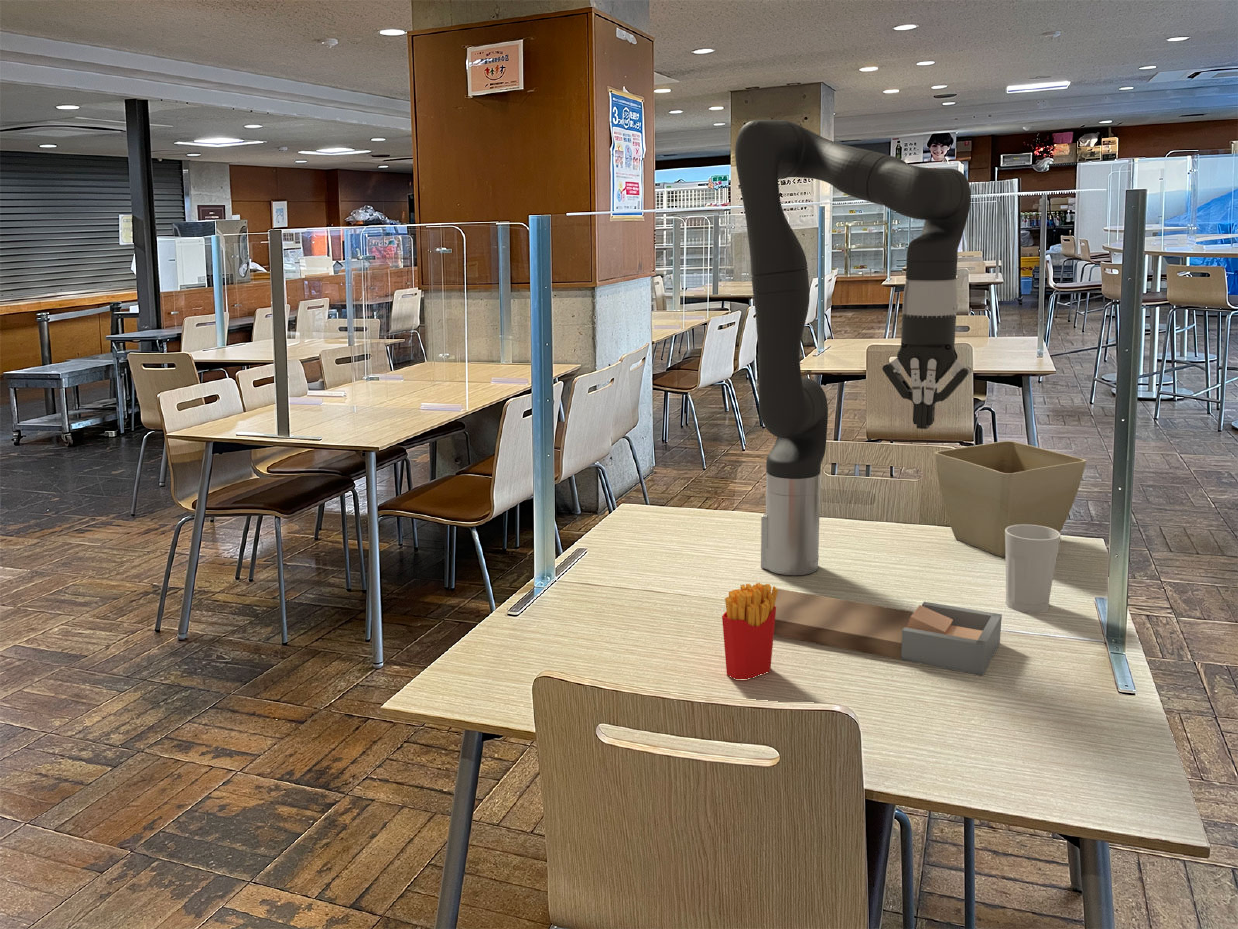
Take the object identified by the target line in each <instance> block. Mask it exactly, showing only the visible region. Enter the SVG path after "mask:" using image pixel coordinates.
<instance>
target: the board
mask: <svg viewBox="0 0 1238 929" xmlns="http://www.w3.org/2000/svg"><path fill="white" fill-rule="evenodd" d="M777 589H778V592H777V597H776V601H775V605H774V606H776V615H775V626H774V636H777V637H783V638H789V639H794V640H799V641H803V642H808V643H814V644H819V645H825V646H829V647H835V648H839V649H843V650H844V649H845V650H848V651H850V650H851V651H855V652H859V653H865V654H870V655H875V656H878V657H879V656H881V657H885V658H889V657H890V658H891V659H895V660H901V646H902V630H903V629H904V627H907V625H908V622H909V619H910V617H911V615H912V614H913V613H914V612H915V611H910V610H905V609H898V608H893V607H887V606H881V605H876V604H869V603H864V602H860V601H859V602H857V601H852V600H847V599H841V598H835V597H828V596H823V595H817V594H811V593H805V592H798V591H796V590H795V591H793V590H788V589H784V588H783V589H782V588H777ZM901 661H902V660H901Z"/></svg>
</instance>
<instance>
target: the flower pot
mask: <svg viewBox="0 0 1238 929" xmlns="http://www.w3.org/2000/svg"><path fill="white" fill-rule="evenodd" d="M934 462H935V468H936V475H937V481H938V485H939V490H940V494H941V498H942V503H943V507H944V509H945V513H946V517H947V519H948V522H949V525H950V529H951V531H952V534H953V536H954V538H955V539H956V540H959V541H960V542H963V543H965V544H969V545H970V546H973V547H976V548H978V549H980V550H982V551H984V552H987V553H989V554H993V555H995V556H997V557H1006V549H1005V529H1006V528H1007V527H1009V526H1013V525H1038V526H1044V527H1048V528H1052V529H1054V530H1057V531H1058V532H1059V533H1060V534H1061V532H1062V529H1063V527H1064V525H1065V524H1066V521H1067V518H1068V517H1069V515H1070V513H1071V510H1072V507H1073V504H1074V502H1075V500H1076V496H1077V494H1078V492H1079V488H1080V486H1081V485H1080V484H1081V483H1082V478H1083V476H1084V472H1085V468H1086V465H1087V460H1086V459H1085V458H1080V457H1077V456H1073V455H1069V454H1065V453H1061V452H1057V451H1054V450H1050V449H1045V448H1042V447H1037V446H1035V445H1030V444H1026V443H1023V442H1019V441H1015V440H1003V441H1002V440H1001V441H996V442H990V443H984V444H977V445H969V446H963V447H956V448H951V449H944V450H943V449H942V450H936V451H934Z"/></svg>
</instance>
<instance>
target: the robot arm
mask: <svg viewBox="0 0 1238 929" xmlns="http://www.w3.org/2000/svg"><path fill="white" fill-rule="evenodd" d="M734 146H735V148H734V149H735V150H734V157H735V165H736V167H735V168H736V173H737V179H738V183H739V189H740V193H741V199H742V203H743V209H744V215H745V224H746V231H747V239H748V247H749V258H750V274H751V275H750V276H751V284H752V285H751V287H752V296H753V304H754V312H755V322H756V323H755V325H756V337H757V345H758V346H757V347H758V360H759V361H758V408H759V409H758V410H759V416H760V419H761V422H762V424H763V426H764V427H765V429H766V430H767V431H768V433H770V434H771V435H773V436H774V437H776V440H775V443H774V446H773V447H772V449H771V450H770V452H769V453H768V454H767V457H766V462H765V465H766V466H765V467H766V468H765V472H766V475H765V476H766V478H765V480H766V481H765V513H764V514H762V515H761V519H760V520H761V522H760V524H761V525H760V528H761V529H760V530H761V531H760V540H761V541H760V568H761V569H766V570H767V571H769V572H772V573H774V574H779V575H785V576H803V575H809V574H813V573H814V572H817V570H818V568H819V560H820V558H819V549H820V548H819V546H820V511H821V510H820V509H821V473H822V472H821V470H822V468H821V467H822V462H823V459H824V457H825V454H826V448H827V438H828V437H827V436H828V421H829V404H828V399H827V398H828V397H827V396H826V393H825V390H824V389H823V387H822V386H821V384H819V383H818V382H817V381H815V380H813V379H811V378H809V377H802V368H801V360H800V358H801V356H800V353H801V343H802V339H803V334H804V329H805V326H806V321H807V317H808V314H809V308H810V296H811V295H810V279H809V270H808V269H809V267H808V261H807V258H806V257H807V256H806V254H805V251H804V249H803V247H802V245H801V242H800V240H799V239H798V237H797V235H796V233H795V232H794V231H793V229H792V227H791V225H790V223H789V222H788V219H787V217H786V215H785V213H784V210H783V206H782V201H781V196H780V187H779V180H786V179H787V178H788V179H789V178H800V179H801V178H803V179H813V180H818V181H822V182H825V183H827V184H829V185H831V186H832V187H833V188H835V189H837V190H838V191H839V192H841V193H844V194H845V195H847V196H851V197H853V198H856V199H858V200H863V201H866V202H868V203H872V204H876V205H880V206H884V207H886V208H887V209H889V210H891V211H894V212H895V213H897V214H900V215H901V216H904V217H907V218H912V219H915V220H921V221H924V223H923V228H922V231H921V234H920V235H919V236H918V237H917V238H916V237H915V238H914V239H912V240H911V241H910V242H909V244H908V247H907V249H906V250H907V251H906V263H905V264H906V265H905V284H904V288H903V295H902V296H903V297H902V315H901V316H902V317H901V333H900V334H901V335H900V336H901V337H900V341H901V342H900V348H899V350H898V351H897V354H896V358H895V359H893V360H892V361H890V362H889V363H886V364H884V365H882V369H881V370H882V371H883V373H884V374H885V376H886V377H887V378H888V380H889V381H890V383H891V384H892V385H893V386H894V388H895V390H896V391H897V392H898V394H899V395H900V397H901V398H902V399H905V400H907V401H911V403H912V404H913V406H912V407H913V408H912V409H913V410H912V423H913V425H916V429H919V430H920V429H921V430H928V429H929V428H930V426H932V425H933V424H934V422H935V415H936V403H938V402H944V401H945V400H947V399H948V398H949V397H950V396H951V395H952V394H953V393H954V392H955V390H956V389H957V388H959V386H961V384H962V383H963V382H964V381H965V379H966V378H967V377H969V375H970V374H971V373H972V369H971V368H970V366H965V365H964V364H963V363H962V362H960V360H958V354H957V351H956V349H955V341H956V327H957V325H956V324H957V310H958V307H959V306H958V305H959V304H958V289H957V274H958V273H957V271H958V270H957V269H958V256H959V255H958V250H959V247H960V244H961V241H962V238H963V235H964V232H965V229H966V228H965V227H966V224H967V221H968V217H969V213H970V209H971V203H972V194H971V193H972V191H971V186H970V183H969V181H968V178H967V177H966V175H965V174H964V173H963V172H961V171H960V170H958V169H955V168H949V167H947V168H946V167H945V168H944V167H943V168H942V167H940V168H936V167H933V168H932V167H924V166H917V165H913V164H908V163H907V162H906V161H905V160H904V159H902V158H899V157H896V156H893V155H889V154H886V153H881V152H877V151H873V150H869V149H865V148H860V147H855V146H851V145H848V144H847V145H846V144H844V143H838V142H837V141H833V140H831V139H828V138H825V137H823V136H821V135H820V134H817V133H815V132H813V131H812V130H809V129H808V128H805V127H803V126H802V125H799V124H797V123H795V122H794V121H793V122H792V121H789V120H783V119H779V120H778V119H755V120H750V121H747V123H745V124H743V126H742V127H741V128H740V129H739V132H738V134H737V136H736V140H735V145H734ZM951 368H952V370H951V374H950V375H951V377H952V379H951V380H949V382H948V383H947V384H946V385H945V386H944V388H942V389H941V390H940V391H938V390H939V386H940V381H941V379H942V378H943V377H945V376H946V374H947V373H948V372H949V371H950V369H951ZM902 370H904V371H905V372H906V374H907V376H908V377H909V378H910V379H911V380H910V381H911V385H910V384H909V383H908V381H907V380H906V378H905V377H904V376H903V375H902Z"/></svg>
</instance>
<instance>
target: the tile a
mask: <svg viewBox="0 0 1238 929" xmlns="http://www.w3.org/2000/svg"><path fill="white" fill-rule="evenodd" d="M913 612H914V613H913V614H912V615H911V617H910V619H909V622H908V625H907V628H912V629H918V630H923V631H929V632H934V633H940V634H945V633H946V632H947V630H948V629H949V627H950V626H951V624H952V622H953V619H951V618H948V617H946V616H944V615H941V614H939V613H937V612H935V611H932V610H930V609H928V608H926V607H923V606H922V604H921V605H918V607H917V608H916V609H915V610H914V611H913Z"/></svg>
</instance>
